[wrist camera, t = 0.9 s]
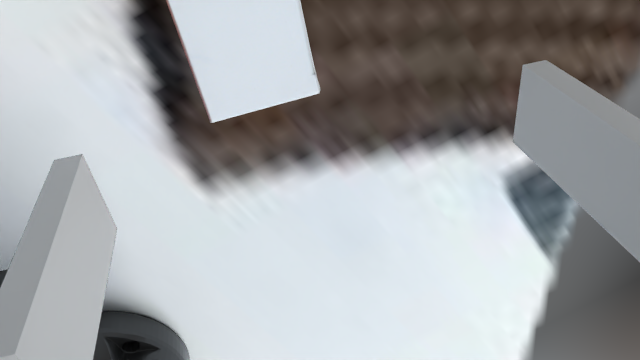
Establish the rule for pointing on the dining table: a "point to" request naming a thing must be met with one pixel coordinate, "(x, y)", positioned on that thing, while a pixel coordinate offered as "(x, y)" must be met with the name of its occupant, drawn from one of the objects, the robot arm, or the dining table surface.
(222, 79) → the small box
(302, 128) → the dining table surface
